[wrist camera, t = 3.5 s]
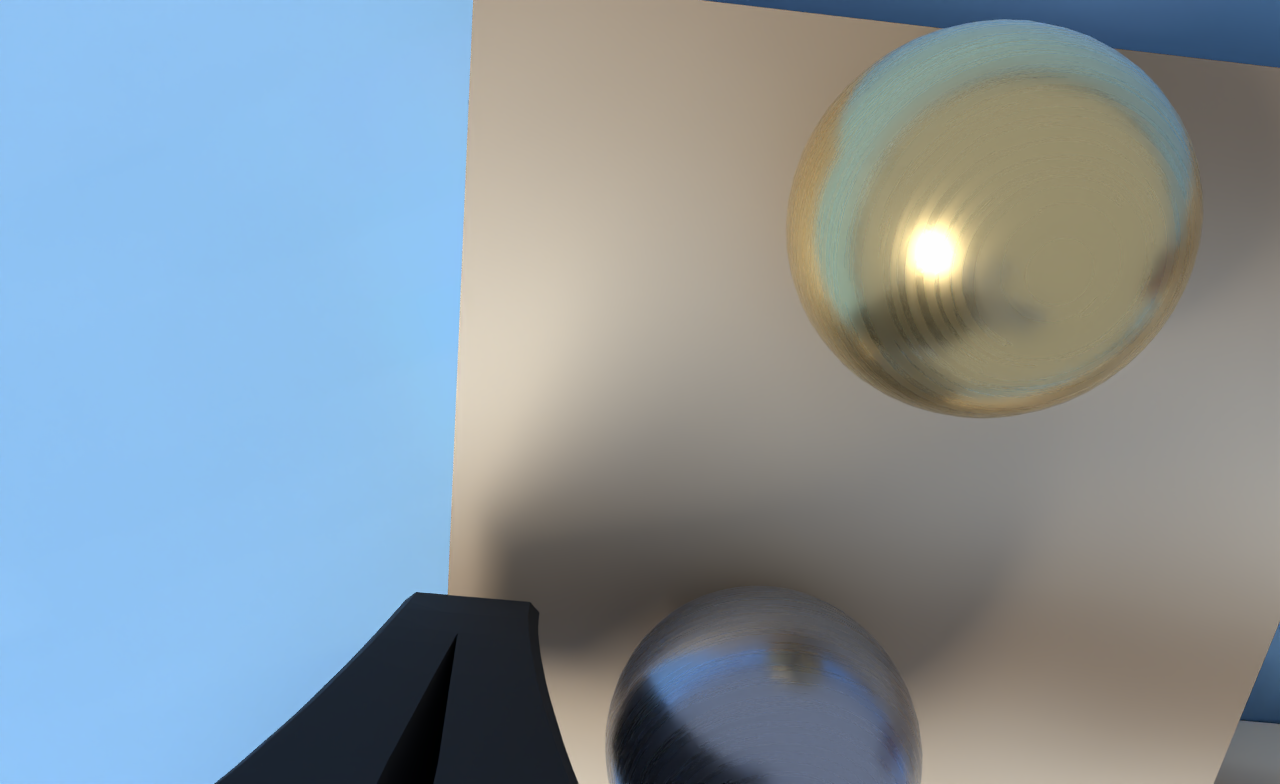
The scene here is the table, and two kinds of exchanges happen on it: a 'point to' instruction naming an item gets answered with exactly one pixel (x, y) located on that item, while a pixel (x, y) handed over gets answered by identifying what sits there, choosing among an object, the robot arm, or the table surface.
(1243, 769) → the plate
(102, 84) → the table surface
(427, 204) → the table surface
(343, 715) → the robot arm
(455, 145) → the table surface
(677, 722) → the steel ball
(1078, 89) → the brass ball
